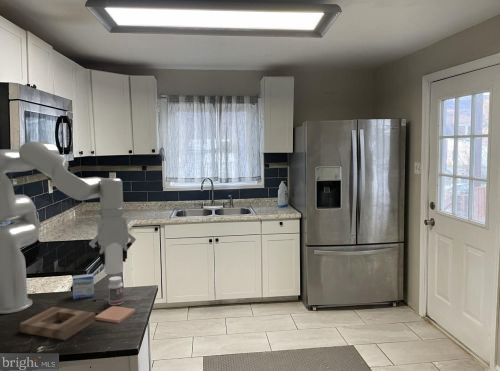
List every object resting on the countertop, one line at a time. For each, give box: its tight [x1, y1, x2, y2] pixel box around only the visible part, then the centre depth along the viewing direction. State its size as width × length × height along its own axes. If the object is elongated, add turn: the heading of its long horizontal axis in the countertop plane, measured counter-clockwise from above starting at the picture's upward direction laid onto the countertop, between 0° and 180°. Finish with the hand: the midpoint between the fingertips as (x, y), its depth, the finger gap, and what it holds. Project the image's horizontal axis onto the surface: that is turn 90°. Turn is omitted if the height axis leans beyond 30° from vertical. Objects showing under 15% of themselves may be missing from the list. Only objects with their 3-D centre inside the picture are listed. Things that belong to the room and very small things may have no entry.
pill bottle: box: [107, 275, 125, 306], centre depth 149 cm, size 6×6×10 cm
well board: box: [19, 306, 96, 341], centre depth 130 cm, size 18×14×3 cm
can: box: [103, 243, 124, 276], centre depth 136 cm, size 6×6×12 cm
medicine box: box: [72, 273, 95, 300], centre depth 156 cm, size 8×4×9 cm, turn 114°
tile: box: [95, 305, 136, 324], centre depth 138 cm, size 10×10×1 cm
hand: (113, 261), depth 137 cm, fingers closed on can, 6 cm apart
